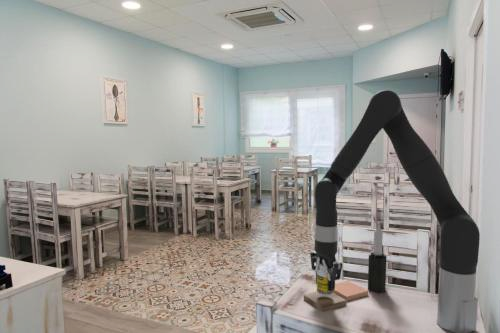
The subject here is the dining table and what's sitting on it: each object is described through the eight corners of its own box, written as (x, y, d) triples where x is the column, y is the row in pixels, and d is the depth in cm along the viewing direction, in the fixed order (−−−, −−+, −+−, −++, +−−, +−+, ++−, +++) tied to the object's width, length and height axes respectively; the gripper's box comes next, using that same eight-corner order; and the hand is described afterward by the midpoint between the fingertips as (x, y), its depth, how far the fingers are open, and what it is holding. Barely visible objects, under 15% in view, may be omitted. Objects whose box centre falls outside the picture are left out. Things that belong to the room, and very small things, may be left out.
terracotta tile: (368, 294, 127) (368, 290, 127) (346, 300, 122) (346, 296, 122) (348, 284, 136) (348, 280, 136) (327, 289, 131) (327, 285, 131)
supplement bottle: (314, 294, 120) (315, 265, 119) (319, 288, 125) (320, 260, 124) (330, 297, 118) (331, 268, 117) (334, 291, 122) (335, 263, 122)
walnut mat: (346, 304, 120) (346, 300, 119) (322, 311, 115) (322, 306, 115) (326, 293, 128) (326, 288, 128) (303, 298, 124) (303, 294, 124)
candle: (366, 289, 131) (368, 222, 129) (373, 285, 135) (375, 220, 133) (379, 294, 127) (382, 224, 125) (386, 290, 131) (388, 222, 129)
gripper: (349, 242, 115) (348, 293, 117) (321, 231, 128) (320, 277, 129) (331, 245, 112) (330, 298, 113) (303, 234, 124) (303, 281, 126)
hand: (324, 286), depth 121 cm, fingers closed on supplement bottle, 5 cm apart
